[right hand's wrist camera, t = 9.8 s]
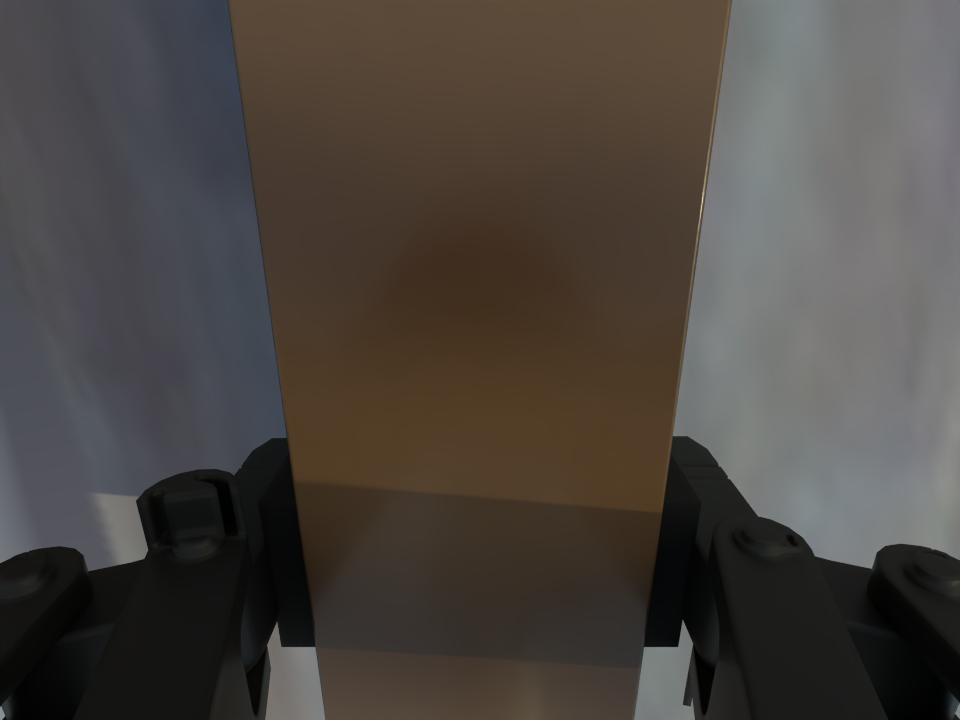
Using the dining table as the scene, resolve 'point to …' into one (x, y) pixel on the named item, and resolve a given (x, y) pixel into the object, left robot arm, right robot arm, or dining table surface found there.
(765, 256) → the dining table surface
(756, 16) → the dining table surface
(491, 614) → the beam
